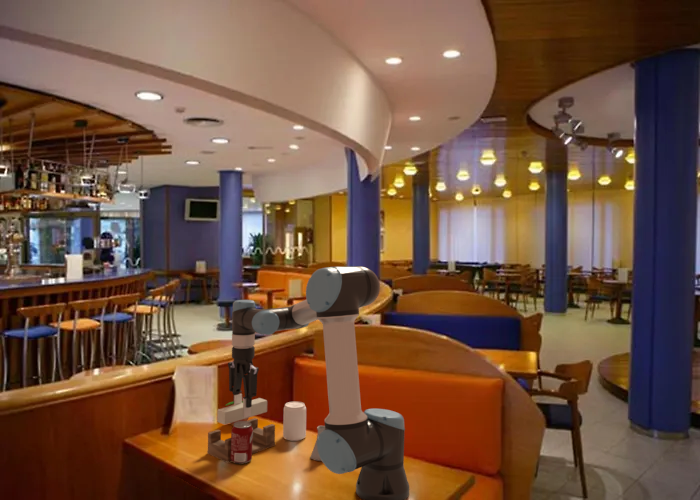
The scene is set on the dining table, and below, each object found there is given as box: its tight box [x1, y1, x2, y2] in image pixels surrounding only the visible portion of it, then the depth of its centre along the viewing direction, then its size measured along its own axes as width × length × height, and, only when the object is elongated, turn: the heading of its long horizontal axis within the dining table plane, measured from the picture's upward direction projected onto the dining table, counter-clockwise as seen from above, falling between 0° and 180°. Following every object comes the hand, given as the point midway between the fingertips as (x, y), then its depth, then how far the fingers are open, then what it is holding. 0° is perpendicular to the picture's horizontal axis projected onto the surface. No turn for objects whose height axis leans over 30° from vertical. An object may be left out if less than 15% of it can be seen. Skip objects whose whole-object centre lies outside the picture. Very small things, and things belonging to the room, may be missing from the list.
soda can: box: [230, 420, 253, 465], centre depth 177 cm, size 7×7×12 cm
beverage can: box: [282, 401, 307, 442], centre depth 199 cm, size 8×8×12 cm
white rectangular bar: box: [216, 397, 268, 426], centre depth 187 cm, size 18×4×4 cm, turn 140°
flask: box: [310, 425, 325, 462], centre depth 182 cm, size 7×7×10 cm
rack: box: [206, 417, 276, 464], centre depth 187 cm, size 20×11×7 cm, turn 140°
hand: (242, 414), depth 187 cm, fingers closed on white rectangular bar, 4 cm apart
